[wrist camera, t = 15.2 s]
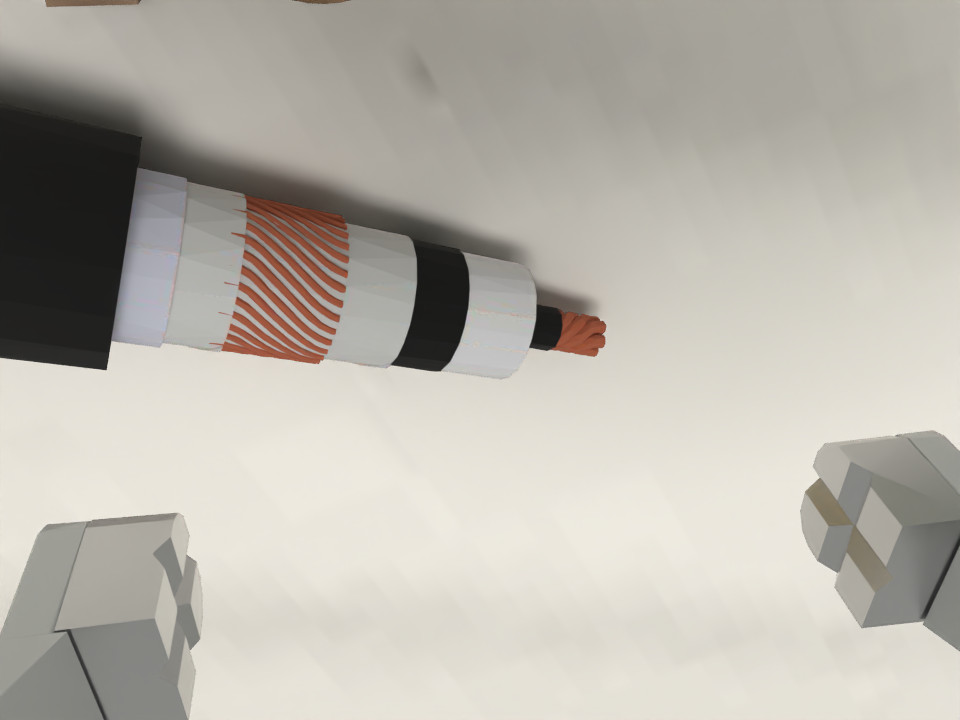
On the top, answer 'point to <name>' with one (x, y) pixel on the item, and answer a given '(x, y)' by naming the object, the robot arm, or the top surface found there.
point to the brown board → (89, 2)
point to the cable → (236, 271)
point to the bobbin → (322, 1)
